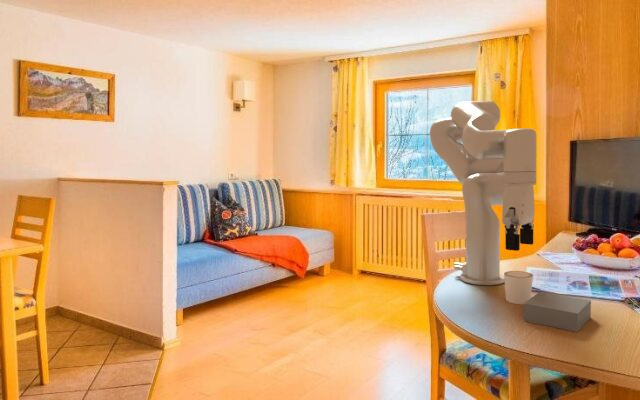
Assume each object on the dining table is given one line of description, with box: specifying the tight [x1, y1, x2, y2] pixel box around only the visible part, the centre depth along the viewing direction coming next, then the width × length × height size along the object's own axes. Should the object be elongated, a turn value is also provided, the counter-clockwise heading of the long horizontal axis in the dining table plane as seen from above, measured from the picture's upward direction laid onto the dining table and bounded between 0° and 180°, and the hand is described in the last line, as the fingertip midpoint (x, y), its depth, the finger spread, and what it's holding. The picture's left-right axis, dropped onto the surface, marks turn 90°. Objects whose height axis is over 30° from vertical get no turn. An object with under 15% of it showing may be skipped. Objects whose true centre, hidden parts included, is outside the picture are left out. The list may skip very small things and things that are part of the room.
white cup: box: [503, 270, 534, 305], centre depth 120 cm, size 7×7×7 cm
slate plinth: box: [522, 291, 592, 333], centre depth 107 cm, size 11×11×4 cm
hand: (519, 246), depth 118 cm, fingers open, 9 cm apart
